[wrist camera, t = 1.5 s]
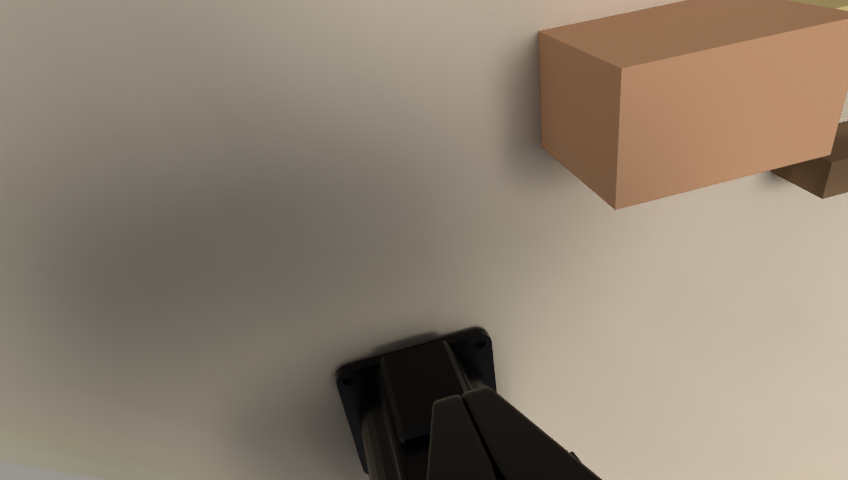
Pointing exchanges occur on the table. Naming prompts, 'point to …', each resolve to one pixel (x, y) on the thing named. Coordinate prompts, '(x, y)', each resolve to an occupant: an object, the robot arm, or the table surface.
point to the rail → (822, 169)
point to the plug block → (693, 93)
